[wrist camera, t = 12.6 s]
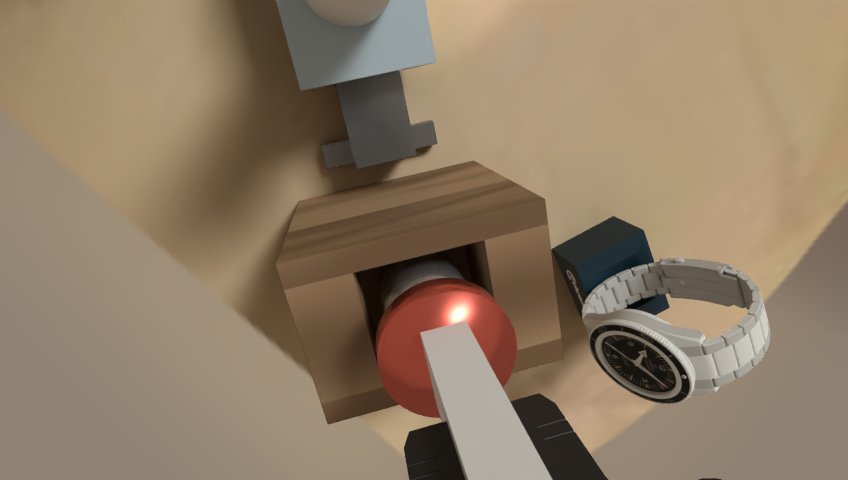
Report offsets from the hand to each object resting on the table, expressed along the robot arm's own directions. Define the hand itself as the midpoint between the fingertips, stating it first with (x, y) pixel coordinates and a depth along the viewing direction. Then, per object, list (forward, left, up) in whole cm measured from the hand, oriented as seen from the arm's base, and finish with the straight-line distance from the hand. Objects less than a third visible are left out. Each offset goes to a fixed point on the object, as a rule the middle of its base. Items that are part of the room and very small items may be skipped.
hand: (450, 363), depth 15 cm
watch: (+5, +12, -14) cm, 19 cm away
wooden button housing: (0, 0, -13) cm, 13 cm away
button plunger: (0, 0, -6) cm, 6 cm away
